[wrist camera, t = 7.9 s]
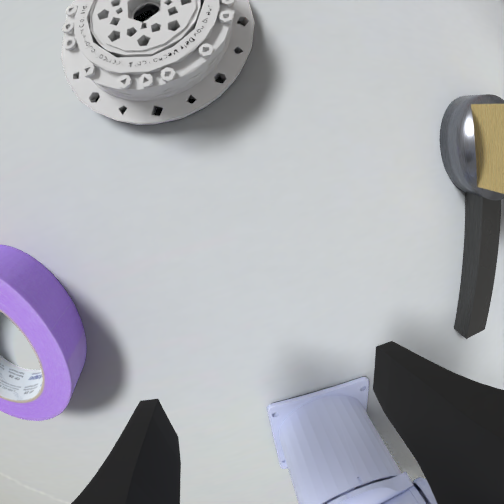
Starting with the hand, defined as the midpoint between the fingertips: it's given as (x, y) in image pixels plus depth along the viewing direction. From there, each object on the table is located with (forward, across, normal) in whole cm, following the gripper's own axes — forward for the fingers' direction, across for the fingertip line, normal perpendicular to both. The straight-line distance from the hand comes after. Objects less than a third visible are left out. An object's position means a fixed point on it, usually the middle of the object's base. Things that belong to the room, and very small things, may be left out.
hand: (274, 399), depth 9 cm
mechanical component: (+10, +2, -14) cm, 17 cm away
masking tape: (+10, +16, 0) cm, 19 cm away
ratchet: (+9, -18, 0) cm, 20 cm away
